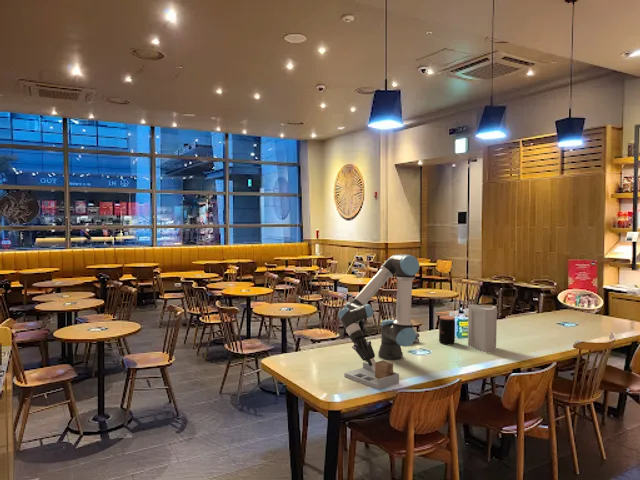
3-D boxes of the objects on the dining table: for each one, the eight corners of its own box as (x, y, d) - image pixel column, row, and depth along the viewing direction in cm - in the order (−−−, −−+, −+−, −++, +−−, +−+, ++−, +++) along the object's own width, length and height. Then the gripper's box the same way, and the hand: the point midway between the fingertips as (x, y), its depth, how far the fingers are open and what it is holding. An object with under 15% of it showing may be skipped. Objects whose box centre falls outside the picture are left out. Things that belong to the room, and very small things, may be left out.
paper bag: (504, 351, 303) (505, 308, 302) (485, 353, 298) (486, 309, 297) (485, 344, 321) (486, 303, 320) (467, 345, 316) (468, 304, 315)
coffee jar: (438, 340, 330) (438, 315, 329) (453, 341, 328) (453, 315, 328) (439, 344, 319) (440, 318, 319) (455, 345, 318) (456, 319, 317)
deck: (363, 371, 261) (363, 362, 261) (398, 383, 241) (399, 373, 241) (344, 376, 252) (344, 367, 252) (379, 389, 232) (379, 379, 232)
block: (382, 374, 248) (382, 360, 248) (392, 378, 243) (393, 363, 243) (375, 377, 244) (375, 362, 244) (385, 380, 239) (386, 365, 239)
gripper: (360, 335, 265) (381, 371, 253) (343, 338, 257) (363, 376, 244) (367, 327, 261) (388, 364, 248) (349, 331, 252) (371, 369, 240)
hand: (376, 370), depth 246 cm, fingers closed
